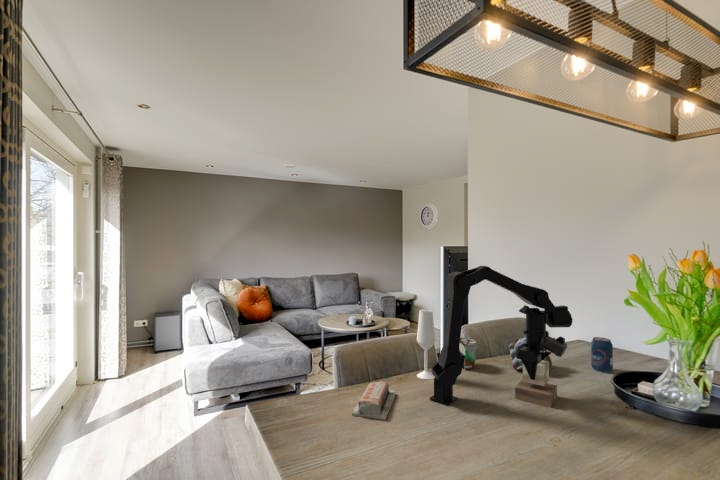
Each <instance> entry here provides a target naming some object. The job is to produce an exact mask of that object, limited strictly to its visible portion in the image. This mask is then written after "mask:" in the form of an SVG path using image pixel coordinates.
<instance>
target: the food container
mask: <svg viewBox="0 0 720 480" xmlns="http://www.w3.org/2000/svg"><path fill="white" fill-rule="evenodd" d="M477 343H478V342H477V341H476V340H475V339H472V338H467V337H461V336H460V345H459V349H460V352H461V353H463V354H464V355H465V360H464V369H463V370H464V371H471V370H474V369H475V367H476V366H475V365H476V355H477V354H476V352H477V351H476V350H477V349H478V344H477Z"/></svg>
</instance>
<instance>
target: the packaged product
mask: <svg viewBox="0 0 720 480" xmlns="http://www.w3.org/2000/svg"><path fill="white" fill-rule="evenodd" d="M389 387H390V384H389V382H386V381H384V380H381V381H374V382H369V383H368V384H367V386H366V388H365V389H364V391H363V392H362V395H361V396H360V398H359V400H358V401H357V404H356V405H355V407H354V409H353V411H351V412H352V413H351V416H354V417H360V418H369V419H379V420H387V418H388V417H387V416H388V415H389V412H390V409H391V408H392V405H393V403H394V399H395V396H396V390H393V389H389Z"/></svg>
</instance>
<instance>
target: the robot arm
mask: <svg viewBox="0 0 720 480" xmlns="http://www.w3.org/2000/svg"><path fill="white" fill-rule="evenodd" d="M484 281H487V282H490V283H492V284H494V285H496V286H498V287H500V288H502V289H504V290H506V291H509V292H510V293H512V294H513V295H515V296H516V297H518V299H520V300H521V301H523V302H524V303H525V304H524V305H523V306H522V308H520V309H519V310H518V312H519V313H521V314H524V315H525V329H524V330H523V334H524V335H525V337H526V343H524V347H528V348H524V347H523V348H521V349H519V350H518V351H517V352H516V358H517V359H521V361H522V362H523V364H524V366H525V368H526V370H527V372H528V374H529V376H530V379H531V380H535V376H536V371H537V365H538V363H540V362H541V361H542V360H543V361H545V358H546V357H547V356H549V357H550V355H551V354H554V355H555V356H556V357H558V358H559V357H560V358H562V356H564V354H565V352H566V350H567V348H568V344H567V343H566V339H565V337H563V336H561V335H560V336H558V337H557V338H556V337H553V336H552V337H551V336H550V333H549V331H548V330H547V326H548V327H549V328H570V327H571V326H572V324H573V317H572V314H571V312H570V311H569V307H568V306H567V305H555V304H554V303H553V301H551V299H550V297H549V293H548V291H547V290H546V289H543V288H539V287H536V286H531V285H528V284H525V283H521V282H519V281H518V280H515V279H514V278H511V277H509V276H507V275H505V274H502V273H500V272H498V271H496V270H494V269H493V268H491V267H490V266H486V265H479V266H477V267H474V268H471V269H467V270H464V271H460V272H459V271H453V272H451V273H450V274H449V275H448V276H447V279H446V284H447V286H446V289H447V293H448V297H449V302H448V303H449V304H448V310H447V321H446V328H445V329H446V331H445V340H444V345H443V346H442V348H441V350H440V353H439V357H438V359H437V362H436V363H435V364H434V366H432V368H430V370H431V373H432V374H433V375H434V376H435V378H433V395H432V396H430V397H429V400H430V401H433V402H437V403H438V404H439V403H440V404H443V405H445V406H450V405H451V404H453V403H454V402H455V401H456V400H458V397H457V396H454V385H456V382H457V380H458V377H460V375H462V371H463V370H464V360H465V355H464V354H463V353H461V352H460V349H459V345H460V337H461V335H462V325H463V316H464V307H465V302H466V300H467V298H468V297H469V295H470V290H471V287H473V286H476V285H478V284H480V283H481V282H484ZM526 304H527V305H526ZM528 305H530V306H534V307H530V306H528ZM542 309H543V310H542Z"/></svg>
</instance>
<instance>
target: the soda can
mask: <svg viewBox="0 0 720 480" xmlns="http://www.w3.org/2000/svg"><path fill="white" fill-rule="evenodd" d="M613 349H614V347H613V343H612V340H611V339H609V338H606V337H601V336H599V337H598V336H597V337H596V336H595V337H593V338H592V340H591V342H590V366H591V367H592V369H593V371H595V372H598V373H603V374H605V373H606V374H608V373H609V374H610V373H611V372H612V371H613V369H614V366H613V365H614V361H613V360H614V357H613V356H614V353H613V351H614V350H613Z"/></svg>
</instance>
